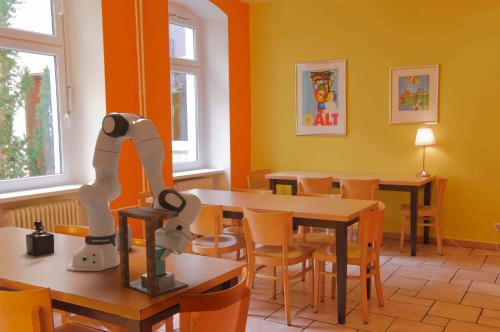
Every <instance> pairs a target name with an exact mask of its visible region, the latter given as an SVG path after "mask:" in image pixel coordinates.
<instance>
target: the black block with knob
mask: <svg viewBox="0 0 500 332" xmlns="http://www.w3.org/2000/svg"><path fill="white" fill-rule="evenodd" d="M33 226H34V227H35V228H34V230H35V231H32V233H28V234H26V235H25V242H26V244H25V245H26V254H28V255H29V256H34V257H37V256H38V257H39V256H43V255H48V254H53V253H55V235H54V233H51V232H47V231H45V226H43V222H42V221H41V219H38V220H35V221H34V222H33Z"/></svg>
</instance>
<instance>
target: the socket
mask: <svg viewBox="0 0 500 332" xmlns="http://www.w3.org/2000/svg"><path fill="white" fill-rule="evenodd" d="M165 271H166V273H164V274H161V275H156V281H157V294H156V295H153V296H152V297H153V298H156V297H159V296H162V295H164V294H168V293H171V292H174V291H175V292H176V291H178V290H181V289H184V288H187V287H189V284H188V283H185V282H183V281H180V280H177V279H175V273H174V272H170V271H167V270H165ZM123 286H124V287H127V288H130V289H132V290H135V291H138V292H140V293H141V294H145V295H147V296H149V295H148V292H147V272H146V273H143V274H142V275H140V278H139V279H135V280H131V281H130V284H128V285H123Z"/></svg>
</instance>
